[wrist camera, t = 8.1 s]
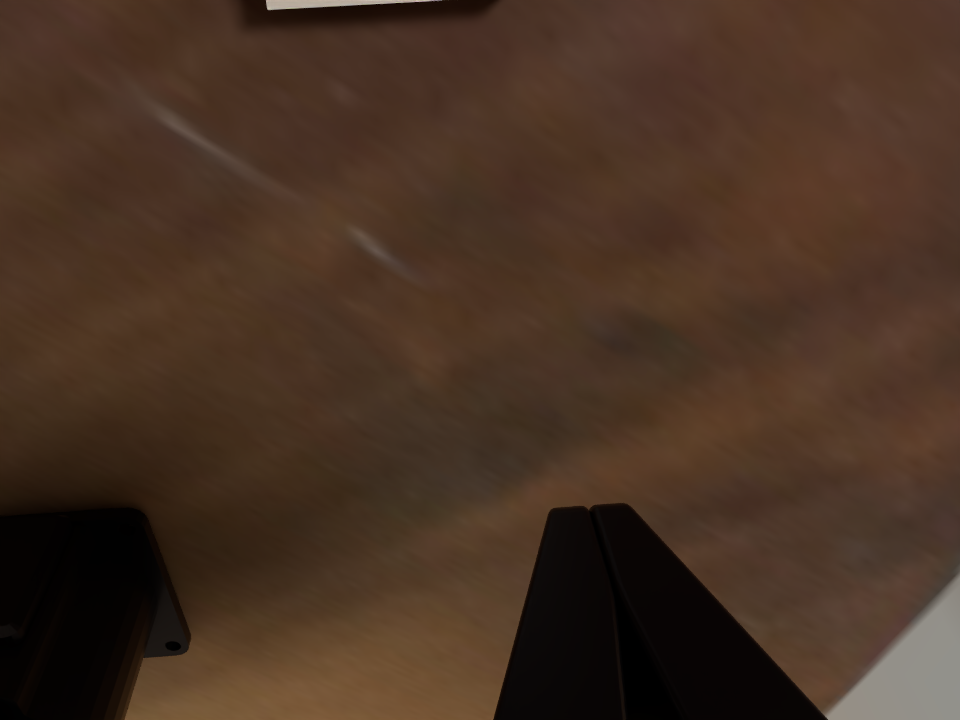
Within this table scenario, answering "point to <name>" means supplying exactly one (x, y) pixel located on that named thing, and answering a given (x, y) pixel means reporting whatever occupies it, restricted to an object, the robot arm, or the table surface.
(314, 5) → the tray
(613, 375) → the table surface
